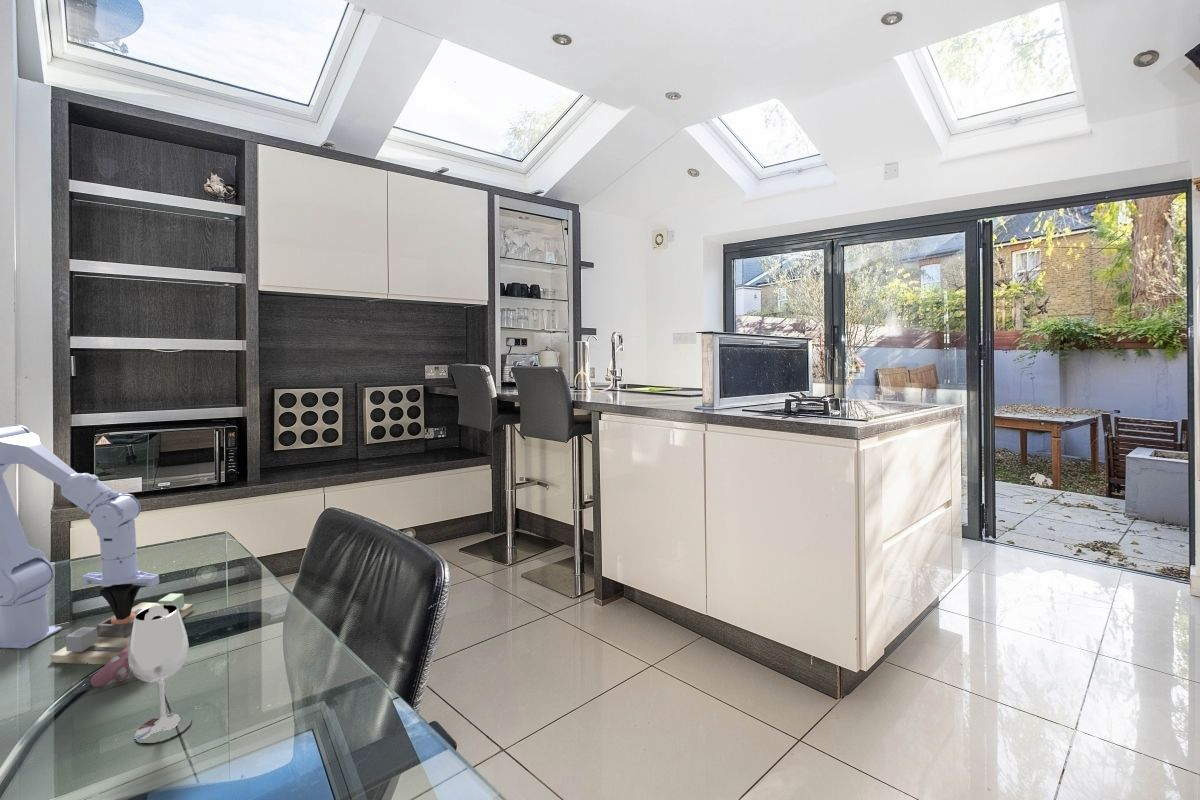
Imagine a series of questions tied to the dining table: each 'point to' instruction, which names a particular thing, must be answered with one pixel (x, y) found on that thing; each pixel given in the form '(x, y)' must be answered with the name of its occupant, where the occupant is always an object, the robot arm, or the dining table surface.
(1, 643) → the robot arm
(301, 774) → the dining table surface
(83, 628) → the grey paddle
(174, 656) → the wineglass
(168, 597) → the pale green block
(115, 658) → the video game controller
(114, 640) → the control board
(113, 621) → the pink round button
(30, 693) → the dining table surface
